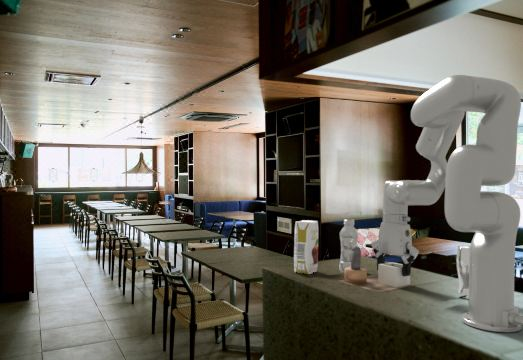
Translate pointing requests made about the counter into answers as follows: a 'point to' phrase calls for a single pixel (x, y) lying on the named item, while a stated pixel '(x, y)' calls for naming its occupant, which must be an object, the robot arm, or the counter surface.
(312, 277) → the counter surface
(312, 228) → the juice carton
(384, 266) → the hollow square frame
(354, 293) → the counter surface
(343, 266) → the plastic bottle
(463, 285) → the beer glass
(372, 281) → the post board
